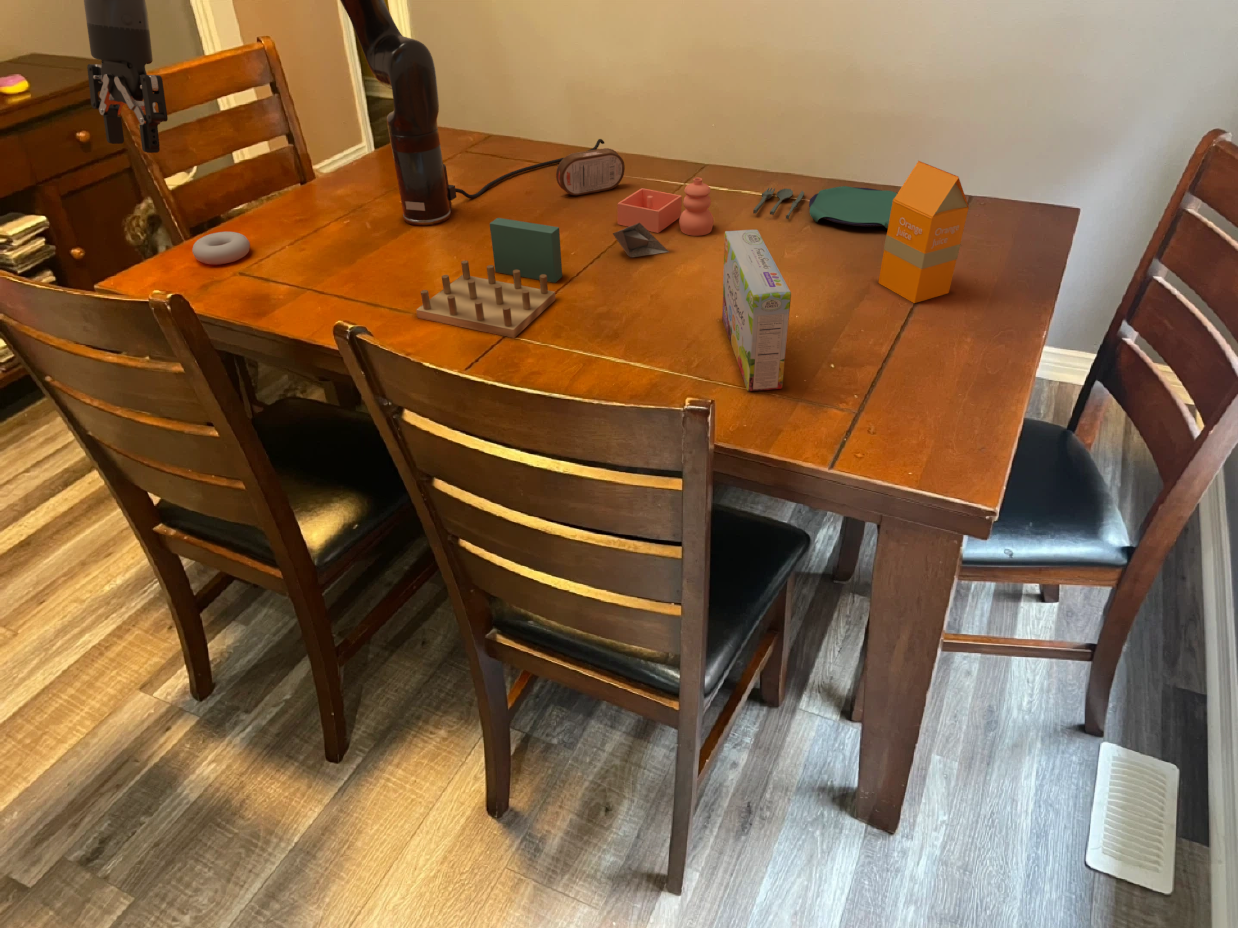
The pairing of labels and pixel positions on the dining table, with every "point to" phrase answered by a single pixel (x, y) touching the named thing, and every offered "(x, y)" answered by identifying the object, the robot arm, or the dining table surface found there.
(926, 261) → the orange juice
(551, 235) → the teal rectangular block
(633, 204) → the pottery
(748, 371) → the snack box
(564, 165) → the tin
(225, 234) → the donut
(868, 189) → the cutlery set
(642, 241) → the paper boat
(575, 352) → the dining table surface
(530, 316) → the rack
